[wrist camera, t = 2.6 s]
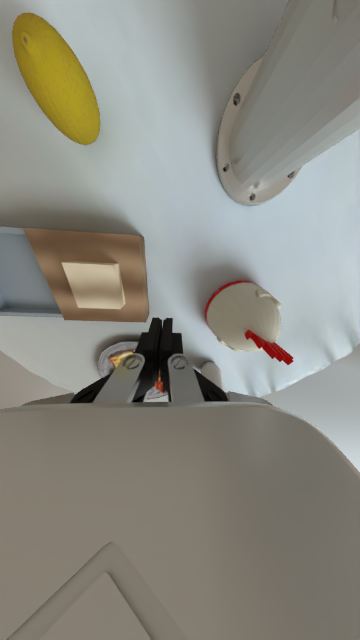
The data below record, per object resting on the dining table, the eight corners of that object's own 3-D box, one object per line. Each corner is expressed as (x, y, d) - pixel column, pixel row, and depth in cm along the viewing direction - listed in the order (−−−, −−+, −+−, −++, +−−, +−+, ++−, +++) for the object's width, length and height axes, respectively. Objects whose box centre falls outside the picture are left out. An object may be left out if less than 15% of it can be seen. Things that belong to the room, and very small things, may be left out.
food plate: (180, 393, 46) (180, 403, 43) (114, 393, 45) (109, 404, 42) (182, 336, 34) (183, 344, 31) (93, 335, 33) (84, 344, 30)
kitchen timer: (237, 341, 35) (274, 397, 22) (194, 321, 31) (208, 374, 18) (277, 298, 29) (360, 339, 16) (230, 268, 26) (288, 290, 12)
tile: (73, 260, 20) (61, 262, 18) (118, 263, 21) (112, 265, 18) (87, 302, 24) (78, 307, 22) (125, 303, 24) (120, 309, 22)
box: (-44, 224, 21) (-102, 218, 16) (47, 230, 21) (15, 226, 17) (11, 309, 28) (-19, 320, 24) (77, 311, 29) (60, 322, 24)
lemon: (56, 90, 15) (-48, -47, 8) (103, 89, 15) (42, -47, 8) (76, 160, 18) (12, 104, 11) (116, 159, 18) (79, 102, 11)
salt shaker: (216, 357, 38) (234, 404, 26) (219, 369, 40) (236, 417, 29) (197, 362, 38) (206, 410, 27) (201, 373, 41) (211, 422, 30)
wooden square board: (47, 230, 21) (22, 227, 18) (143, 237, 22) (138, 235, 19) (77, 311, 29) (64, 320, 25) (149, 313, 30) (145, 322, 26)
